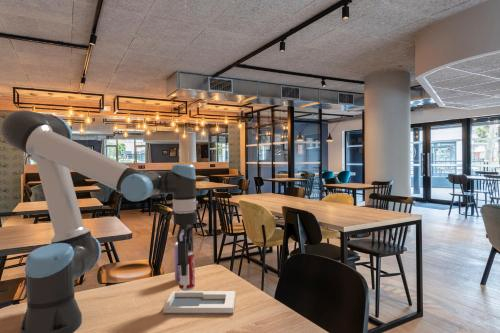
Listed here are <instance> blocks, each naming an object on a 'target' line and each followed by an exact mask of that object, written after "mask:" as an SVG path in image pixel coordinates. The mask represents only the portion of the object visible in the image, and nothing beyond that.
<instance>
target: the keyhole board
mask: <svg viewBox="0 0 500 333" xmlns="http://www.w3.org/2000/svg"><path fill="white" fill-rule="evenodd" d="M235 304H236V291H235V290H229V291H228V290H227V291H226V290H215V291H214V290H208V291H207V290H199V291H198V290H194V291H193V290H187V291H184V290H178V291H177V290H173V291H172V292H171V293H170V295H169V297H168V299H167V301H166V302H165V304H164V306H162V308H163V310H162V311H163V312H162V315H165V316H167V315H168V316H170V315H172V316H174V315H175V316H176V315H179V316H181V315H183V316H185V315H188V316H190V315H193V316H194V315H195V316H196V315H197V316H198V315H201V316H203V315H205V316H206V315H211V316H212V315H216V316H217V315H223V316H224V315H225V316H226V315H227V316H229V315H231V316H233V315H234V311H235Z"/></svg>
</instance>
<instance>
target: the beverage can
mask: <svg viewBox="0 0 500 333" xmlns="http://www.w3.org/2000/svg"><path fill="white" fill-rule="evenodd" d="M173 248H174V251H173V252H174V280H175V282H176V283H178V284H179V267H178V266H177V264H178V241H177V242H175V243H174V247H173Z"/></svg>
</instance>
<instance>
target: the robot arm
mask: <svg viewBox="0 0 500 333" xmlns="http://www.w3.org/2000/svg"><path fill="white" fill-rule="evenodd" d="M0 134H1V137H2V138H3V140H4V141H5V142H6V143H7V144H8V145H9V146H10V147H12V148H14V149H16V150H18V151H21V152H23V153H25V154H27V155H28V159H30V160H31V161H33V162H34V163H36V168H37V171H38V175H39V178H40V182H41V185H42V186H41V187H42V190H43V195H44V199H45V201H46V206H47V210H48V214H49V217H50V222H51V225H52V228H53V229H52V230H53V232H54V235H53V236H52V238H51V240H50V244H46V245H44V246H43V245H42V246H40V247H37V248H35V249H33V250H32V251H31V252H30V253H29V254H28V255H27V256H26V259H25V267H24V272H25V283H26V285H25V286H26V288H25V289H26V310H25V314H24V317H23V319H22V322H21V325H20V328H19V333H74V332H75V331H77V330H78V329H79V328H80V327H81V325H82V323H83V319H82V318H83V315H82V312H81V309H80V307H79V305H78V302H77V300H76V297H75V281H76V280H77V279H79V278H80V277H81V276H83V275H84V274H85V273H87V272H89V271H91V270H92V269H93V268H94V267H95V265H97V263H98V262H99V261H100V259H101V256H102V246H101V243H100V241H99V240H98V239H97V238H95V237H94V236H92V233H91V229H90V228H88V227H86V226H85V225H84V221H83V217H82V213H81V211H80V210H81V209H80V205H79V202H78V199H77V195H76V190H75V187H74V182H73V179H72V174H71V171H70V170H72V171H74V172H76V173H78V174H80V175H82V176H85V177H87V178H89V179H92V180H94V181H96V182H98V183H99V184H102V185H104V186H107V187H108V188H111V189H114V190H115V191H117V192H120V193H121V194H122V196H123V198H125V199H126V200H128V201H130V202H142V201H145V200H146V199H148V198H150V197H152V196H156V195H162V194H163V195H165V194H167V195H170V194H172V211H173V216H172V217H173V218H172V219H173V224H174V225H178V226H179V229H178V231H177V235H176V239H177V240H176V241H177V242H178V264H177V266H180V285H189V264H188V250H192V251H193V254H194V253H195V252H194V232H193V231H194V226H193V225H194V224H196V223H197V221H198V219H197V211H196V210H197V205H198V204H199V201H198V200H197V177H196V168H195V165H193V164H188V163H187V164H183V163H182V164H173V165H172V166H171V170H150V171H149V170H143V171H142V170H141V171H139V170H137V169H134V167H133V168H132V167H131V166H128V165H126V164H124V163H122V162H120V161H117V160H116V159H114V158H111V157H109V156H107V155H104V154H103V153H101V152H98V151H96V150H94V149H92V148H89V147H87V146H86V145H83V144H81V143H79V142H76V141H74V140H72V139H73V130H72V129H71V126H70V125H69V123H67V122H66V121H65V120H64V119H62V118H61V117H58V116H56V115H53V114H49V113H43V112H35V111H31V110H23V109H20V110H16V111H12V112H10V113H9V114H7V115H6V116H5V117H4V118H3V120H2V121H1V124H0ZM195 255H196V254H194V258H196V257H195Z"/></svg>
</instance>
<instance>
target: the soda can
mask: <svg viewBox="0 0 500 333" xmlns="http://www.w3.org/2000/svg"><path fill="white" fill-rule="evenodd" d="M193 252H194V250H193V251H192V250H188V264H189V285H180V266H178V267H179V283H178V288H179V290H180V291H192V290H193V289H195V287H196V275H195V274H196V269H195V267H196V266H195V257H194V255H195V254H194V253H193Z"/></svg>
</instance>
